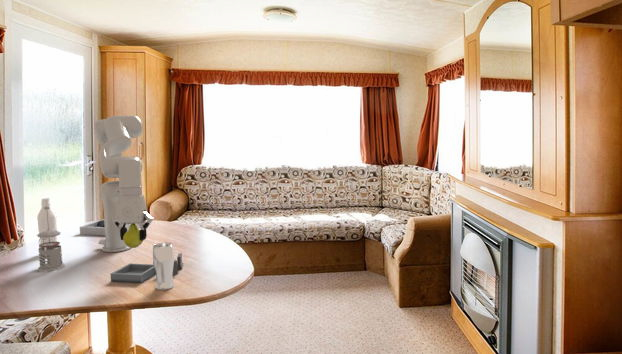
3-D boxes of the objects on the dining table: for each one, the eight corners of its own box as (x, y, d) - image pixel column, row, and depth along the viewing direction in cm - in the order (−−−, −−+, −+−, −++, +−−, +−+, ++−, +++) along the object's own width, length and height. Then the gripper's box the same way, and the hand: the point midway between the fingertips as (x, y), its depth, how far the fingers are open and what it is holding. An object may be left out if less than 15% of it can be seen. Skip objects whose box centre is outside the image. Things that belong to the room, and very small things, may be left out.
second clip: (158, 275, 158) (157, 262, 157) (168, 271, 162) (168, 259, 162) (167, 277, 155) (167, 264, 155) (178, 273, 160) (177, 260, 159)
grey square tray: (111, 281, 152) (110, 273, 151) (130, 270, 163) (129, 263, 163) (141, 283, 150) (141, 275, 149) (158, 272, 162) (158, 264, 161)
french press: (44, 273, 162) (39, 209, 159) (29, 268, 168) (24, 206, 165) (70, 266, 170) (66, 205, 167) (55, 261, 176) (50, 202, 173)
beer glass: (167, 281, 151) (165, 241, 149) (179, 285, 147) (177, 244, 146) (150, 287, 145) (147, 245, 144) (162, 292, 141) (160, 248, 140)
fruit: (137, 250, 151) (135, 217, 150) (119, 249, 152) (118, 217, 151) (147, 245, 158) (145, 214, 157) (130, 244, 159) (129, 213, 158)
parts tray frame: (80, 234, 223) (79, 226, 223) (108, 224, 247) (108, 217, 246) (121, 235, 219) (121, 228, 219) (146, 225, 243) (145, 218, 242)
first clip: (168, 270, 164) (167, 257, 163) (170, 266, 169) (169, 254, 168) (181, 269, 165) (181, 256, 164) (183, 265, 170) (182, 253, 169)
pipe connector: (118, 217, 240) (122, 222, 228) (119, 226, 241) (123, 232, 228) (96, 220, 234) (99, 225, 222) (97, 229, 235) (100, 235, 222)
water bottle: (62, 253, 188) (58, 198, 186) (46, 257, 182) (42, 200, 179) (52, 251, 191) (48, 197, 189) (36, 255, 185) (32, 199, 182)
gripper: (102, 193, 151) (105, 241, 153) (147, 193, 148) (150, 242, 150) (115, 190, 158) (118, 236, 160) (158, 190, 155) (160, 237, 157)
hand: (133, 239), depth 155 cm, fingers closed on fruit, 6 cm apart
